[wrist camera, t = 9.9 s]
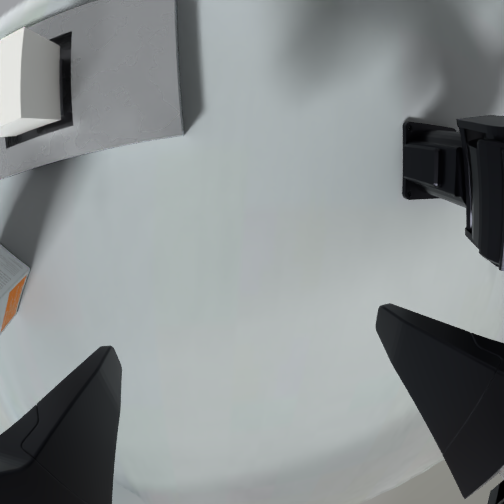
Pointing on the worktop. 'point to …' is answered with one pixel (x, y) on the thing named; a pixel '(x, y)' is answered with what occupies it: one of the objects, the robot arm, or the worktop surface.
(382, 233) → the worktop surface
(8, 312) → the skincare box
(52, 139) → the socket plate
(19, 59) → the plug
